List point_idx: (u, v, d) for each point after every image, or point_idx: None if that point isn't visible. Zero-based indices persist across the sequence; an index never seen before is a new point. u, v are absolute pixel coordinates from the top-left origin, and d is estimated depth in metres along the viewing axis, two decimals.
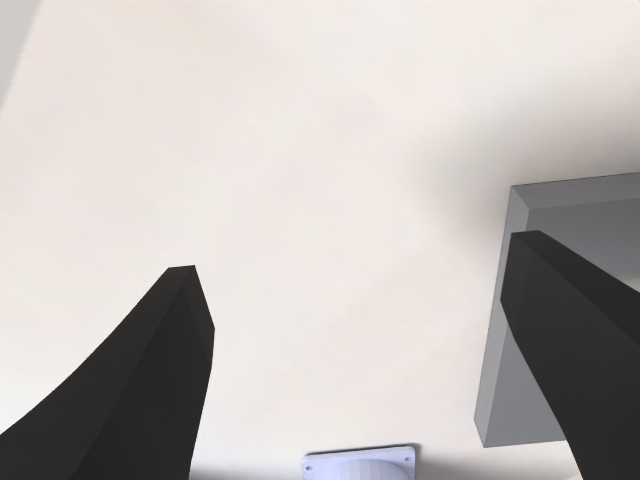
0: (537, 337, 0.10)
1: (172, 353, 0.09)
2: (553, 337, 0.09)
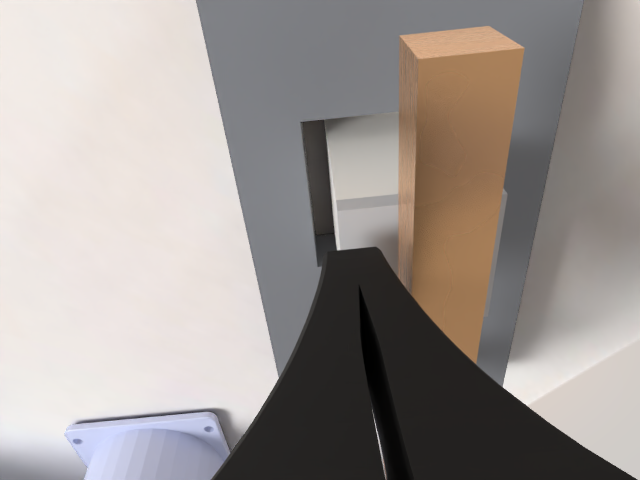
0: (364, 354, 0.10)
1: (361, 334, 0.09)
2: (368, 355, 0.09)
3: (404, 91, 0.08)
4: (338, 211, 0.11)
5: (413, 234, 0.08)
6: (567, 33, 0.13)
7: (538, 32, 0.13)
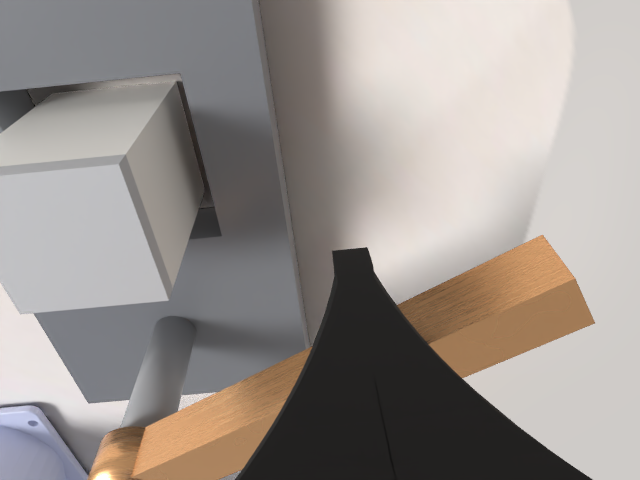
0: None
1: None
2: None
3: (517, 265, 0.10)
4: None
5: (433, 341, 0.10)
6: None
7: None
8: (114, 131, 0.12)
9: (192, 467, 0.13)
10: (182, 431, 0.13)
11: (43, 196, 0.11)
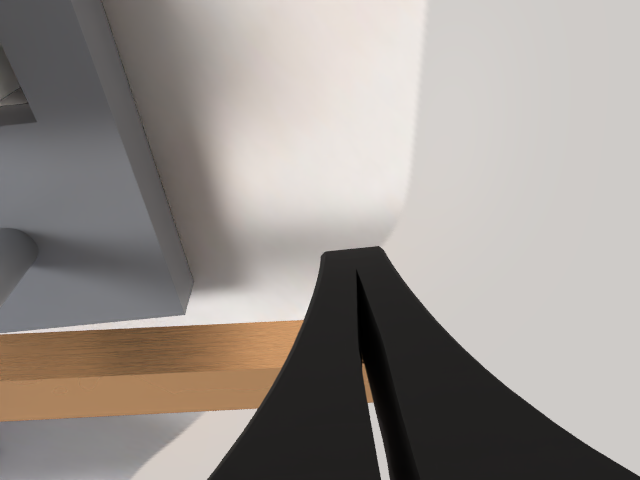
0: (367, 354, 0.10)
1: None
2: (371, 355, 0.09)
3: None
4: None
5: None
6: None
7: None
8: None
9: None
10: None
11: None
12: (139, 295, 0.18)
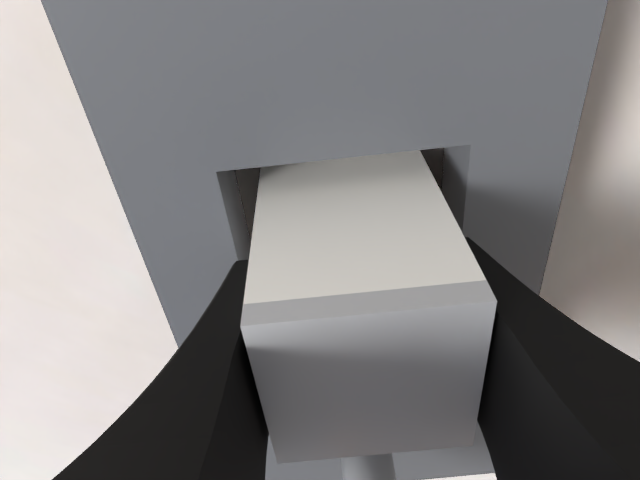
0: None
1: None
2: None
3: None
4: (242, 326, 0.07)
5: None
6: (582, 51, 0.09)
7: (541, 50, 0.09)
8: (421, 231, 0.09)
9: None
10: None
11: (374, 339, 0.08)
12: (462, 458, 0.17)
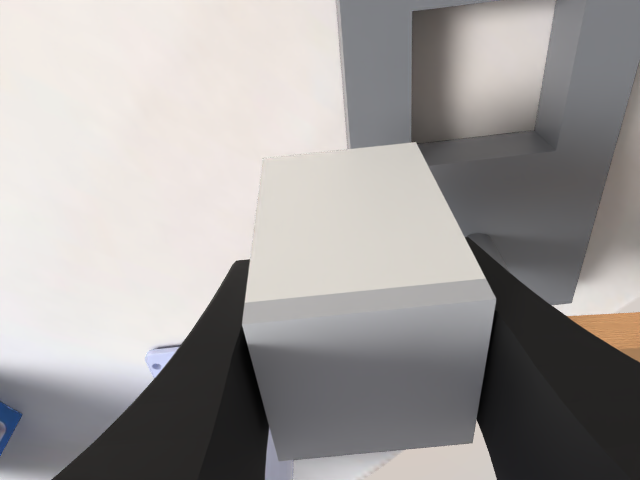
0: None
1: None
2: None
3: None
4: (243, 324, 0.07)
5: None
6: None
7: None
8: (421, 231, 0.09)
9: None
10: (610, 331, 0.15)
11: (374, 337, 0.08)
12: (545, 287, 0.22)
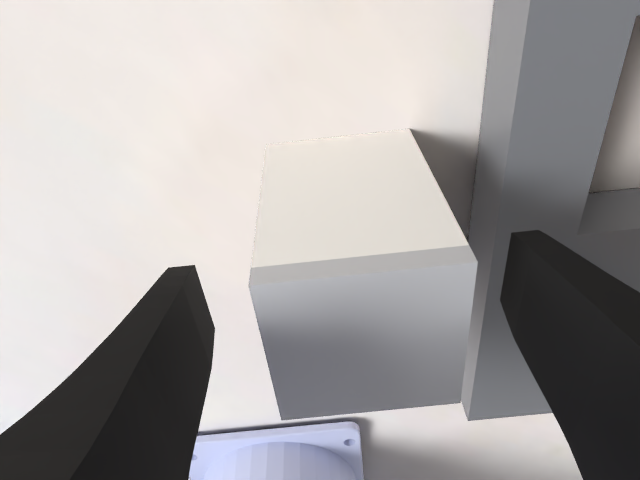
0: (537, 337, 0.10)
1: (172, 353, 0.09)
2: (553, 337, 0.09)
3: None
4: (250, 286, 0.08)
5: None
6: None
7: None
8: (412, 205, 0.10)
9: None
10: None
11: (368, 298, 0.09)
12: None
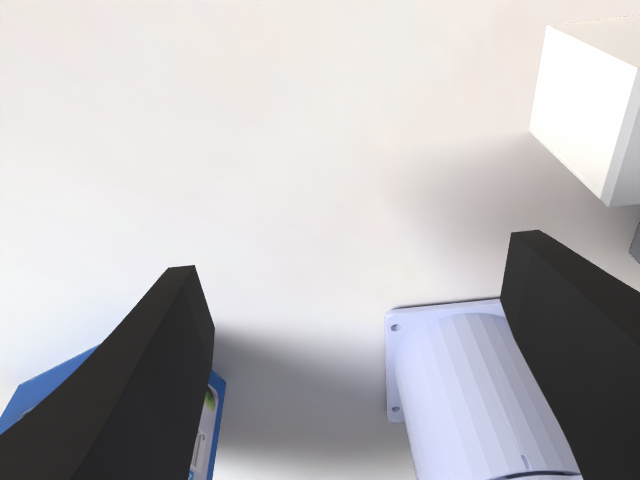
0: (537, 337, 0.10)
1: (172, 353, 0.09)
2: (553, 337, 0.09)
3: None
4: None
5: None
6: None
7: None
8: None
9: None
10: None
11: None
12: None
